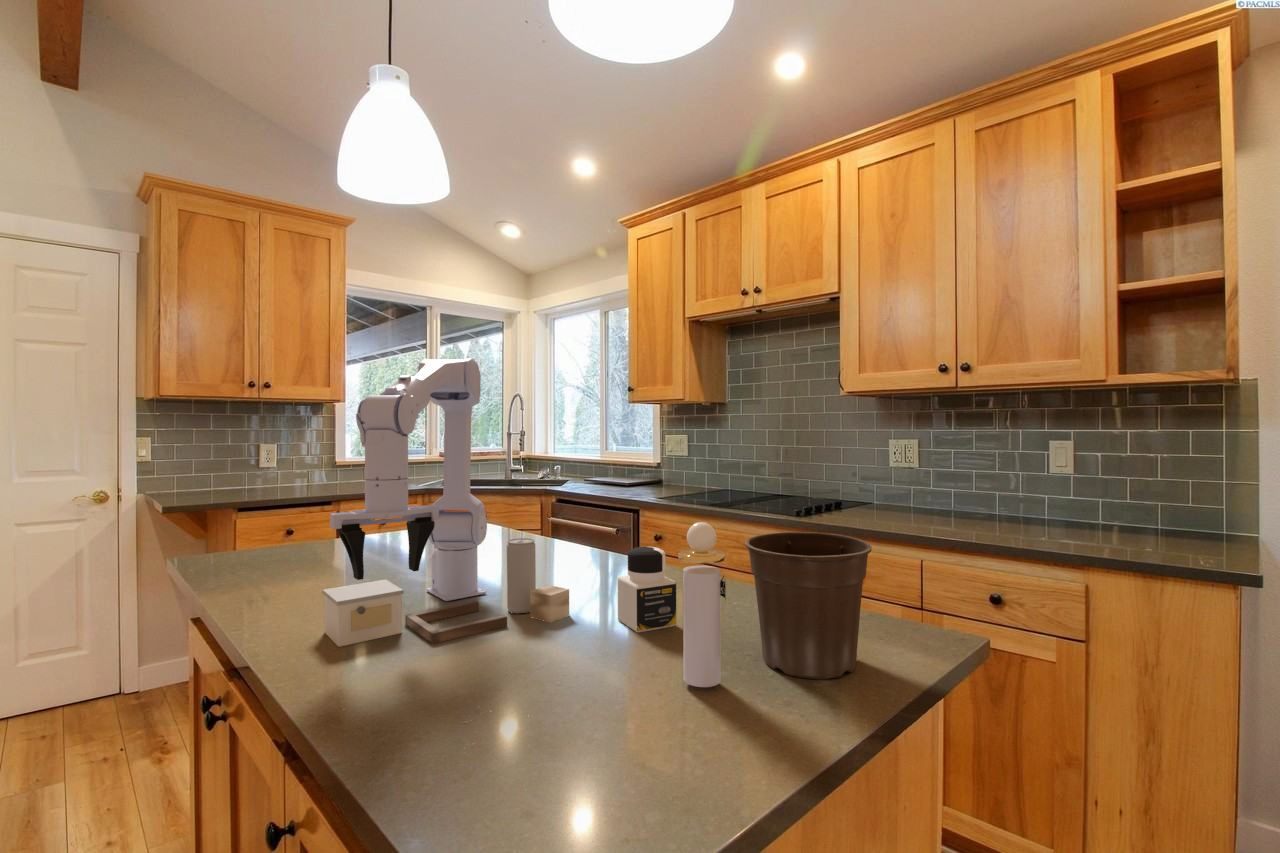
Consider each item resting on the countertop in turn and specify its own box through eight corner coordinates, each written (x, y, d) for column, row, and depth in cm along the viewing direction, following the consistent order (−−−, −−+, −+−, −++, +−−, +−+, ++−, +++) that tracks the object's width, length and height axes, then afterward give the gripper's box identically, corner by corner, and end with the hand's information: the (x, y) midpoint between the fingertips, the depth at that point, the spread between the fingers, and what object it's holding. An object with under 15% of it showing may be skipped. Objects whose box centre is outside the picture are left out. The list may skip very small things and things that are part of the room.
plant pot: (758, 688, 74) (757, 555, 74) (736, 640, 90) (736, 531, 90) (892, 687, 74) (892, 554, 74) (846, 640, 90) (846, 531, 90)
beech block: (530, 618, 101) (530, 591, 101) (549, 611, 105) (549, 585, 105) (550, 623, 98) (550, 595, 98) (569, 616, 102) (569, 589, 102)
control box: (322, 632, 94) (322, 589, 94) (385, 619, 100) (385, 579, 100) (338, 648, 87) (337, 602, 87) (404, 633, 93) (404, 590, 93)
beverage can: (538, 606, 107) (538, 538, 107) (531, 615, 102) (530, 543, 102) (512, 605, 108) (511, 537, 107) (503, 614, 103) (502, 543, 103)
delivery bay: (405, 624, 98) (405, 615, 98) (475, 609, 106) (475, 600, 106) (432, 643, 89) (432, 633, 89) (507, 626, 97) (507, 616, 97)
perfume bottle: (697, 700, 71) (697, 527, 71) (669, 682, 76) (668, 521, 76) (735, 688, 74) (735, 523, 74) (705, 672, 79) (705, 517, 79)
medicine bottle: (637, 633, 93) (636, 555, 93) (617, 620, 100) (616, 546, 100) (677, 626, 97) (677, 550, 97) (655, 613, 103) (655, 542, 103)
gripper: (339, 483, 80) (339, 588, 80) (447, 477, 89) (447, 571, 89) (325, 480, 85) (325, 578, 85) (428, 475, 94) (428, 563, 94)
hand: (386, 574), depth 87 cm, fingers open, 7 cm apart
